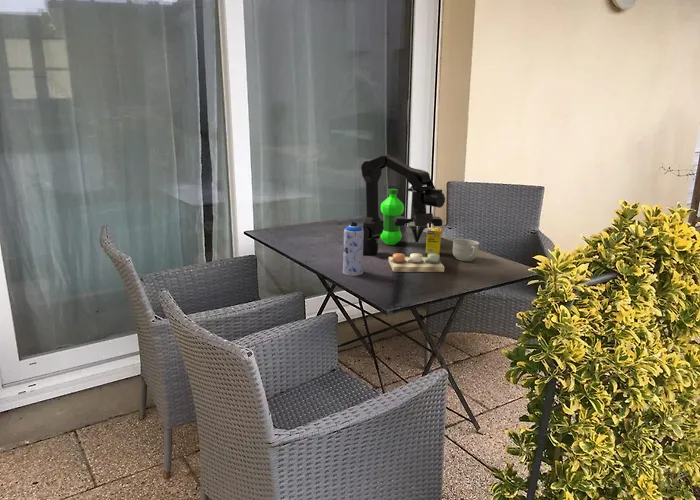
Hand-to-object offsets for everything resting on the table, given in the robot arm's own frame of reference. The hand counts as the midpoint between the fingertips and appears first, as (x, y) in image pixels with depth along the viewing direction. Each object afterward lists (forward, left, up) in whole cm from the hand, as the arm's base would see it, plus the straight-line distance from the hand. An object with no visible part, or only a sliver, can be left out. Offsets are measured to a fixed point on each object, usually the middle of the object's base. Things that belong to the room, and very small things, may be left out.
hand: (416, 242), depth 239 cm
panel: (0, 0, -10) cm, 10 cm away
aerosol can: (-26, -8, -10) cm, 29 cm away
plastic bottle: (-5, +36, -10) cm, 37 cm away
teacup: (+23, +9, -10) cm, 27 cm away
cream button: (0, 0, -8) cm, 8 cm away
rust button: (-7, 0, -8) cm, 10 cm away
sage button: (+7, 0, -8) cm, 10 cm away
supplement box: (+11, +19, -10) cm, 24 cm away
